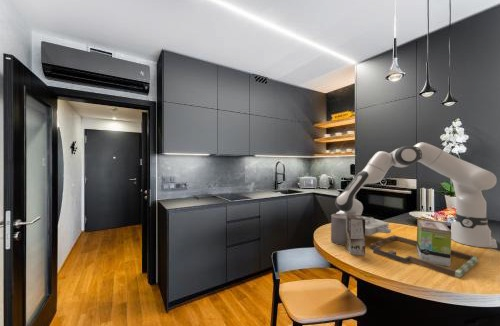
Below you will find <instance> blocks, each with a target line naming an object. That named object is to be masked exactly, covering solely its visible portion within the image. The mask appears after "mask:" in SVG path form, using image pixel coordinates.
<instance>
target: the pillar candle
mask: <svg viewBox="0 0 500 326" xmlns="http://www.w3.org/2000/svg"><path fill="white" fill-rule="evenodd" d="M330 216H331V220H330V224H331V225H330V241H331V242H332V243H334V244H336V245H343V246H346V215H345V214H342V213H341V214H336V213H332V214H331V215H330Z"/></svg>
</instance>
